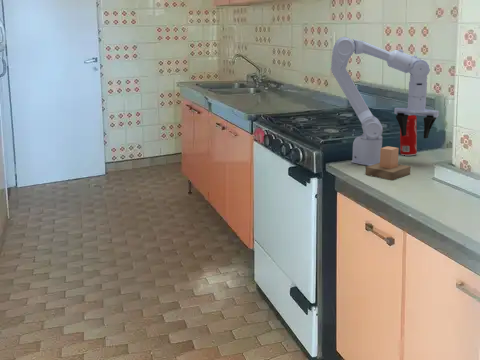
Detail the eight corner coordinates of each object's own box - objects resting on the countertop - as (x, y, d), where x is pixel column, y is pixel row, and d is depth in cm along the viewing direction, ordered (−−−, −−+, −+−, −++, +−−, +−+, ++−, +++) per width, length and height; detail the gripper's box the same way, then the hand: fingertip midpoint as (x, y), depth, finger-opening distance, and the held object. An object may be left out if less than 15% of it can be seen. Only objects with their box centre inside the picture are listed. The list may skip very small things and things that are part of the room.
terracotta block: (379, 166, 182) (380, 148, 181) (386, 164, 185) (387, 146, 183) (390, 168, 179) (391, 150, 178) (397, 166, 182) (398, 148, 180)
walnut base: (365, 174, 183) (365, 166, 182) (383, 168, 189) (383, 161, 189) (392, 180, 176) (392, 172, 175) (410, 174, 182) (410, 166, 181)
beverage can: (417, 156, 205) (419, 115, 201) (398, 156, 206) (400, 114, 202) (415, 152, 211) (418, 112, 207) (397, 152, 212) (399, 112, 208)
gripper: (391, 96, 190) (389, 136, 194) (434, 99, 181) (431, 141, 185) (400, 94, 195) (397, 133, 199) (442, 96, 187) (439, 137, 190)
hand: (414, 136), depth 192 cm, fingers open, 7 cm apart
